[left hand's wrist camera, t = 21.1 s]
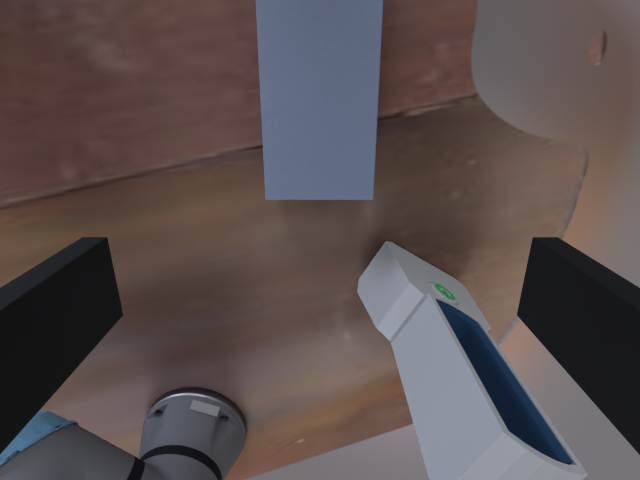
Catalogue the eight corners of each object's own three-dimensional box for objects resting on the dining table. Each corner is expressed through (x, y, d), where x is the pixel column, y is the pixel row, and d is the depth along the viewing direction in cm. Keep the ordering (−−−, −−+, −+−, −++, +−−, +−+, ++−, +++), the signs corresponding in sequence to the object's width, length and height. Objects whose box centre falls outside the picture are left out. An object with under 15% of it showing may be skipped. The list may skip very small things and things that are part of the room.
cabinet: (266, -33, 40) (252, -67, 31) (372, -33, 40) (386, -67, 31) (275, 180, 47) (265, 200, 39) (363, 180, 47) (373, 200, 39)
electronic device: (463, 280, 52) (631, 503, 24) (429, 322, 54) (546, 571, 26) (385, 235, 50) (469, 423, 22) (353, 281, 52) (392, 504, 24)
